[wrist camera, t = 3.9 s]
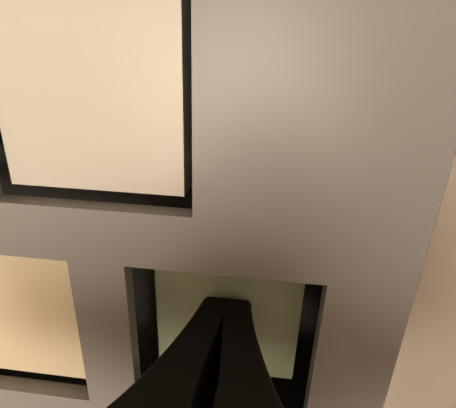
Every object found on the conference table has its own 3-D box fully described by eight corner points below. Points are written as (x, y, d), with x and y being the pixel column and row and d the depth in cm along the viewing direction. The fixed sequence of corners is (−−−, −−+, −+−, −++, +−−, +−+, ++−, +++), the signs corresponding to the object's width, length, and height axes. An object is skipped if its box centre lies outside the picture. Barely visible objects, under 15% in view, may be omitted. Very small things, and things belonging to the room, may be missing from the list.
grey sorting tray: (461, -242, 8) (651, -537, 4) (337, 369, 15) (360, 486, 11) (-366, -212, 10) (-796, -388, 6) (-133, 316, 17) (-257, 398, 13)
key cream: (196, -5, 8) (180, -16, 7) (196, 176, 10) (184, 196, 9) (16, -9, 9) (-32, -20, 7) (46, 166, 11) (11, 183, 9)
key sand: (92, 234, 11) (67, 259, 10) (106, 344, 13) (86, 379, 12) (-40, 222, 12) (-82, 245, 10) (-10, 331, 13) (-42, 363, 12)
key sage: (304, 238, 12) (308, 263, 10) (289, 344, 13) (291, 379, 12) (167, 226, 12) (153, 249, 11) (171, 332, 14) (159, 363, 12)
